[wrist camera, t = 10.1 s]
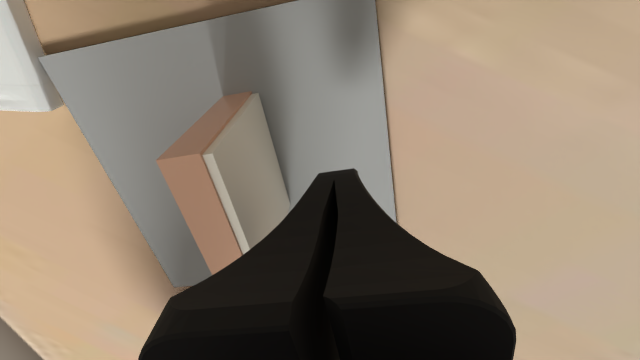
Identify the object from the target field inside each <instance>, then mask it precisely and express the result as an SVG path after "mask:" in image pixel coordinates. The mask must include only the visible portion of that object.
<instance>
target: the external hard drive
mask: <svg viewBox="0 0 640 360" xmlns="http://www.w3.org/2000/svg"><path fill="white" fill-rule="evenodd" d="M42 56H45V54H44V52H43V49H42V46H41V44H40V41H39V39H38V36H37V33H36V31H35V28H34V26H33V23H32V20H31V18H30V15H29V13H28V10H27V7H26V5H25V2H24V0H0V110H7V111H29V112H46V111H52V110H54V109H57V108H59V107H61V106H63V105H64V104H63V101H62V99H61V96H60V94H59V92H58V91H57V89H56V87H55V86H54V84H53V82H52V80H51V79H50V77H49V75H48V74H47V72H46V70H45V69H44V67H43V65H42V64H41V62H40V60H39V59H38V57H42Z"/></svg>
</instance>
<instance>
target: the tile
mask: <svg viewBox="0 0 640 360" xmlns="http://www.w3.org/2000/svg"><path fill="white" fill-rule="evenodd" d="M156 162H157V164H158V166H159V168H160V170H161V172H162V174H163V176H164V178H165V180H166V182H167V184H168V186H169V189H170V191H171V193H172V195H173V197H174V199H175V201H176V203H177V205H178V207H179V209H180V211H181V213H182V215H183V217H184V219H185V221H186V223H187V225H188V227H189V229H190V231H191V233H192V235H193V237H194V239H195V241H196V243H197V245H198V247H199V249H200V251H201V253H202V255H203V257H204V259H205V261H206V263H207V265H208V267H209V269H210V271H211V273H212V275H213V274H215V273H217V272H218V271H220V270H221V269H223V268H225V267H226V266H228V265H229V264H231V263H232V262H234V261H235V260H237V259H238V258H239V257H241V256H242V255H243V254H245V253H246V252H247V251H248V250H250V249H251V248H252V247H254V246H255V245H256V244H257V243H259V242H260V241H261V240H262V239H264V238H265V237H266V236H267V235H268V234H269V233H270V232H271V231H272V230H273V229H274V228H275V227H276V226H277V225H278V224H279V223H280V222H281V221H282V220H283V219H284V218H285V217H286V216H287V215H288V212H289V208H290V202H289V198H288V195H287V191H286V188H285V184H284V181H283V177H282V174H281V170H280V167H279V163H278V160H277V156H276V153H275V149H274V146H273V142H272V139H271V135H270V132H269V128H268V125H267V121H266V118H265V114H264V111H263V107H262V104H261V100H260V97H259V93H254V94H252V91H249V92H243V93H238V94H232V95H227V96H223V97H221V98H220V99H219V100H218V101H217V102H216V103H215V104H214V105H213V106H212V107H211V108H210V109H209V110H208V111H207V112H206V113H205V114H204V115H203V116H202V117H201V118H199V119H198V120H197V121H196V122H195V123H194V124H193V125H192V126H191V127H190V128H189V129H188V130H187V131H186V132H185V133H184V134H183V135H182V136H181V137H180V138H179V139H177V140H176V141H175V142H174V143H173V144H172V145H171V146H170V147H169V148H168V149H167V150H166V151H165V152H164V153H163V154H162V155H161V156H160V157H159V158H158V159H157V160H156Z"/></svg>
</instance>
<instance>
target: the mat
mask: <svg viewBox="0 0 640 360" xmlns="http://www.w3.org/2000/svg"><path fill="white" fill-rule="evenodd" d="M38 59H39V60H40V62H41V64H42V65H43V67H44V69H45V70H46V72H47V74H48V75H49V77H50V79H51V80H52V82H53V84H54V86H55V87H56V89H57V91H58V92H59V94H60V96H61V97H62V99H63V101H64V102H65V104H66V106H67V107H68V109H69V111H70V113H71V114H72V116H73V118H74V119H75V121H76V123H77V124H78V126H79V128H80V129H81V131H82V133H83V135H84V136H85V138H86V140H87V141H88V143H89V145H90V146H91V148H92V150H93V151H94V153H95V155H96V156H97V158H98V160H99V162H100V163H101V165H102V167H103V168H104V170H105V172H106V173H107V175H108V177H109V178H110V180H111V182H112V183H113V185H114V187H115V189H116V190H117V192H118V194H119V195H120V197H121V199H122V200H123V202H124V204H125V205H126V207H127V209H128V211H129V212H130V214H131V216H132V217H133V219H134V221H135V222H136V224H137V226H138V227H139V229H140V231H141V232H142V234H143V236H144V238H145V239H146V241H147V243H148V244H149V246H150V248H151V249H152V251H153V253H154V254H155V256H156V258H157V259H158V261H159V263H160V265H161V266H162V268H163V270H164V271H165V273H166V275H167V276H168V278H169V280H170V281H171V283H172V285H173V287H184V286H194V285H196V284H198V283H199V282H201V281H203V280H205V279H207V278H208V277H210V276H212V273H211V271H210V269H209V267H208V265H207V263H206V261H205V259H204V257H203V255H202V253H201V251H200V249H199V247H198V245H197V243H196V241H195V239H194V237H193V235H192V233H191V231H190V229H189V227H188V225H187V223H186V221H185V219H184V217H183V215H182V213H181V211H180V209H179V207H178V205H177V203H176V201H175V199H174V197H173V195H172V193H171V191H170V189H169V186H168V184H167V182H166V180H165V178H164V176H163V174H162V172H161V170H160V168H159V166H158V164H157V162H156V160H157V159H158V158H159V157H160V156H161V155H162V154H163V153H164V152H165V151H166V150H167V149H168V148H169V147H170V146H171V145H172V144H173V143H174V142H175V141H176V140H177V139H179V138H180V137H181V136H182V135H183V134H184V133H185V132H186V131H187V130H188V129H189V128H190V127H191V126H192V125H193V124H194V123H195V122H196V121H197V120H198V119H199V118H201V117H202V116H203V115H204V114H205V113H206V112H207V111H208V110H209V109H210V108H211V107H212V106H213V105H214V104H215V103H216V102H217V101H218V100H219V99H220V98H221V97H223V96H227V95H232V94H238V93H243V92H249V91H252V94H254V93H259V97H260V100H261V104H262V107H263V111H264V114H265V118H266V121H267V125H268V128H269V132H270V135H271V139H272V142H273V146H274V149H275V153H276V156H277V160H278V163H279V167H280V170H281V174H282V177H283V181H284V184H285V188H286V191H287V195H288V198H289V202H290V208H289V212H290V211H291V210H292V209H293V208H294V206H295V205H296V204H297V202H298V201H299V200H300V198H301V197H302V196H303V195H304V193H305V192H306V190H307V189H308V187H309V186H310V185H311V183H312V182H313V180H314V179H315V177H316V176H317V175H318V174H319V173H324V172H331V171H338V170H345V169H353V168H354V169H356V170H357V171H358V175H359V177H360V179H361V181H362V183H363V185H364V186H365V188H366V189H367V191H368V192H369V193H370V195H371V196H372V198H373V199H374V200H375V201H376V203H377V204H378V205H379V206H380V207H381V208H382V209H383V210H384V211H385V213H386V214H387V215H388V216H389V217H390V218H392V219H393V220H394V221H395V222H396V214H395V203H394V193H393V182H392V172H391V161H390V151H389V140H388V130H387V119H386V109H385V98H384V88H383V77H382V67H381V56H380V46H379V35H378V25H377V14H376V4H375V0H297V1H292V2H288V3H283V4H278V5H274V6H269V7H265V8H260V9H256V10H251V11H247V12H242V13H237V14H233V15H228V16H224V17H219V18H215V19H210V20H205V21H201V22H196V23H192V24H187V25H183V26H178V27H174V28H169V29H164V30H160V31H155V32H151V33H146V34H142V35H137V36H132V37H128V38H123V39H119V40H114V41H110V42H105V43H101V44H96V45H91V46H87V47H82V48H78V49H73V50H69V51H64V52H60V53H55V54H50V55H46V56H42V57H38ZM289 212H288V213H289Z"/></svg>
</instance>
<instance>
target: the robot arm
mask: <svg viewBox="0 0 640 360" xmlns="http://www.w3.org/2000/svg"><path fill="white" fill-rule="evenodd" d="M515 345H516V329H515V327H514V325H513V323H512V320H511V318H510V316H509V314H508V312H507V310H506V309H505V307H504V305H503V304H502V302H501V301H500V299H499V298H498V296H497V295H496V293H495V292H494V291H493V289H492V288H491V286H490V285H489V284H488V282H487V281H486V280H485V278H484V277H483V276H482V274H481V273H480V272H479V271H478V270H476V269H473V268H471V267H469V266H467V265H465V264H462V263H460V262H458V261H456V260H453V259H451V258H449V257H447V256H445V255H443V254H441V253H439V252H438V251H436V250H434V249H432V248H430V247H429V246H427V245H425V244H424V243H422V242H421V241H419V240H418V239H416V238H415V237H413V236H412V235H411V234H409V233H408V232H407V231H406V230H404V229H403V228H402V227H401V226H399V225H398V224H397V223H396V222H395V221H394V220H393V219H392V218H390V217H389V216H388V215H387V214H386V213H385V211H384V210H383V209H382V208H381V207H380V206H379V205H378V204H377V203H376V201H375V200H374V199H373V198H372V196H371V195H370V193H369V192H368V191H367V189H366V188H365V186H364V185H363V183H362V181H361V179H360V177H359V175H358V171H357V170H356V169H354V168H353V169H345V170H338V171H331V172H324V173H319V174H318V175H317V176H316V177H315V179H314V180H313V182H312V183H311V185H310V186H309V187H308V189H307V190H306V192H305V193H304V195H303V196H302V197H301V198H300V200H299V201H298V202H297V204H296V205H295V206H294V208H293V209H292V210H291V211H290V212H289V213H288V215H287V216H286V217H285V218H284V219H283V220H282V221H281V222H280V223H279V224H278V225H277V226H276V227H275V228H274V229H273V230H272V231H271V232H270V233H269V234H268V235H267V236H266V237H265V238H264V239H262V240H261V241H260V242H259V243H257V244H256V245H255V246H254V247H252V248H251V249H250V250H248V251H247V252H246V253H245V254H243V255H242V256H241V257H239V258H238V259H237V260H235V261H234V262H232V263H231V264H229V265H228V266H226V267H225V268H223V269H221V270H220V271H218V272H217V273H215V274H213V275H212V276H210V277H208V278H207V279H205V280H203V281H201V282H199V283H198V284H196V285H194V286H192V287H190V288H188V289H186V290H185V291H183V292H181V293H179V294H177V295H175V296H173V297H171V298H170V299H169V301H168V302H167V304H166V306H165V308H164V310H163V311H162V313H161V315H160V317H159V319H158V320H157V322H156V324H155V326H154V328H153V330H152V331H151V333H150V335H149V337H148V339H147V341H146V342H145V344H144V346H143V348H142V350H141V353H140V355H139V358H138V360H513V356H514V350H515Z"/></svg>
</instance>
